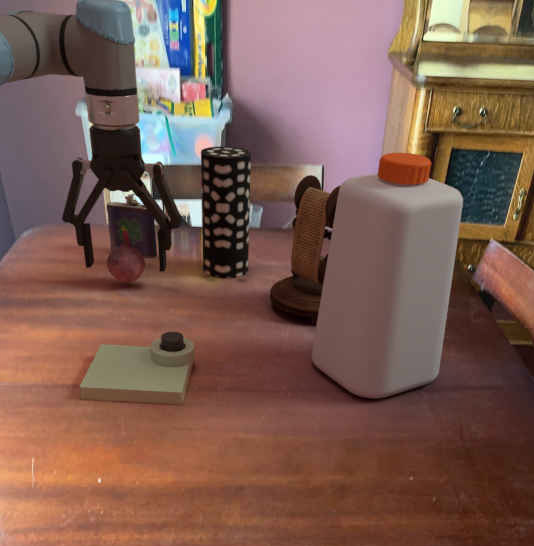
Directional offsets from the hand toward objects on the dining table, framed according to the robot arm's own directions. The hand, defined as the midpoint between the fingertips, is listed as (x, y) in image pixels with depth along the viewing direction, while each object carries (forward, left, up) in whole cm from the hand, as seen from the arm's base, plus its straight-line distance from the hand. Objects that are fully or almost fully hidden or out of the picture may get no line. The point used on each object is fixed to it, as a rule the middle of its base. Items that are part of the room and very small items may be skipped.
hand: (126, 266), depth 115 cm
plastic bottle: (+40, -26, -4) cm, 48 cm away
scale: (+8, -32, -3) cm, 33 cm away
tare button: (+12, -28, 0) cm, 31 cm away
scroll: (+32, -5, -4) cm, 33 cm away
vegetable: (0, 0, -4) cm, 4 cm away
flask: (-2, +16, -4) cm, 17 cm away
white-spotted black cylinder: (+16, +10, -4) cm, 19 cm away
